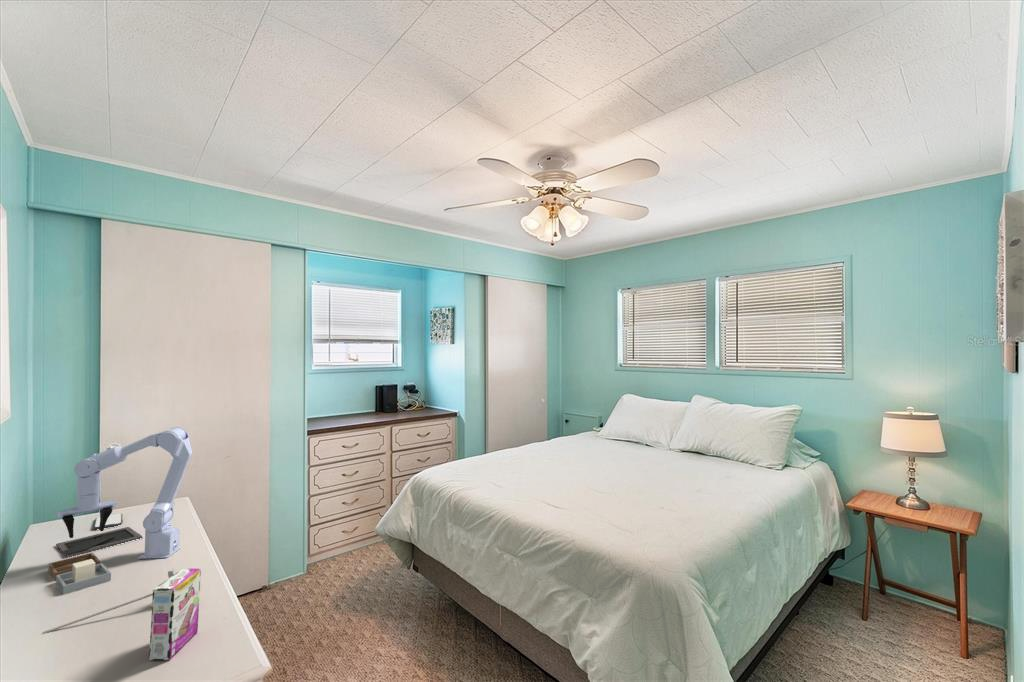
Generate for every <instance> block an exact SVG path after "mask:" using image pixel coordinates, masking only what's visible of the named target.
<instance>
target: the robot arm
mask: <svg viewBox="0 0 1024 682" xmlns="http://www.w3.org/2000/svg"><path fill="white" fill-rule="evenodd" d="M149 447H154V448H157V447H159V448H161V449H163V450H165V451H166V452H168V453H169V454H170V456H171V457H172V458H173V459H172V461H171V464H170V467H169V469H168V471H167V474H166V475H165V479H164V481H163V484H162V487H161V489H160V492H159V494H158V496H157V499H156V501H155V502H154V504H153V506H152V508H151V510H150V512H149V513H148V515H146V516H145V518H144V519H143V520H142V527H143V528H144V530H145V531H144V533H145V537H144V553H143V554H141V555H140V556H138V559H139V560H142V559H164V558H165V559H166V558H170V557H171V556H172V555H174V554H175V553H176V552H177V551H178V550H180V549H181V546H180V536H181V535H180V534H181V532H180V529H179V528H178V527H173V526H172V523H171V520H172V519H173V517H174V515H175V513H174V512H175V511H174V506H175V498H176V497H177V494H178V491H179V489H180V487H181V484H182V481H183V478H184V476H185V474H186V471H187V468H188V466H189V463H190V461H191V458H192V455H193V451H192V446H191V441H190V434H189V433H188V432H187V431H186V429H185V428H182V427H181V426H180V427H179V426H175V427H171V428H170V429H169V430H168V429H165V430H162V431H159V432H156V433H153V434H151V435H147V436H146V437H143V438H141V439H138V440H136V441H134V442H132V443H130V444H128V445H126V446H119V445H117V446H116V445H115V446H113V445H112V446H108V447H107V448H106V450H104V451H102V452H99V453H94V454H91V456H90V457H87V458H84V459H82V460H80V461H78V462H77V463H76V464H75V466H74V468H73V471H74V473H75V475H76V476H77V483H76V484H77V485H76V506H75V507H71V508H66V509H63V510H59V511H57V519H61V520H62V521H63V523H64V524H65V527H66V529H67V533H68V537H69V538H70V539H73V538H74V534H75V533H74V524H75V518H74V516H76V515H81V514H85V513H90V512H91V513H92V512H97V511H99V517H100V526H99V530H98V531H100V532H104V531H105V529H104V527H105V524H106V521H107V519H108V518H109V516H110V515H112V512H113V508H116V507H117V501H116V500H112V501H111V500H110V501H105V502H104V501H103V502H102V501H101V502H100V491H101V490H100V488H101V471H102V470H103V471H104V470H105V469H108V468H110V467H113V466H115V465H117V464H120V463H122V462H124V461H126V460H127V459H126V458H127V457H128V455H131V454H133V453H137V452H138V451H141V450H144V449H146V448H149Z"/></svg>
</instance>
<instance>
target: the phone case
mask: <svg viewBox="0 0 1024 682" xmlns="http://www.w3.org/2000/svg"><path fill="white" fill-rule="evenodd" d="M123 522H124V521H123V514H122V513H117V514H110V516H109V518H108V519H107V521H106V524H105V527H104V528H108V527H114V526H118V525H121V524H122V525H123ZM99 526H100V516H97V517H95V520H94V523H93V530H94V529H95V530H94V531H98V530H97V529H99ZM114 528H115V527H114ZM108 529H109V528H108Z"/></svg>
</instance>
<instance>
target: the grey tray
mask: <svg viewBox="0 0 1024 682" xmlns="http://www.w3.org/2000/svg"><path fill="white" fill-rule="evenodd" d="M111 580H112V572H111V571H110V570H109V569H108V568H107V566H106V565H105V564H104V563H103V562H101V563H100V564H97V565H95V577H92V578H88V579H85V580H81V581H78V582H74V583H73V581H72V571H71V572H67V573H63V574H60V575H56V581H55V584H56V586H57V588H59V590H60V592H61V594H62V595H66V594H71V593H74V592H77V591H80V590H81V591H82V590H84V589H87V588H90V587H94V586H97V585H100V584H103V583H108V582H110V581H111ZM107 581H108V582H107Z"/></svg>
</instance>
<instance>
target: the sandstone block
mask: <svg viewBox="0 0 1024 682" xmlns="http://www.w3.org/2000/svg"><path fill="white" fill-rule="evenodd" d="M92 577H95V562H94V561H93V559H89V560H85V561H82V562H78V563H74V564H73V565H72V581H73V583H74V582H78V581H81V580H85V579H88V578H92Z"/></svg>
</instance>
